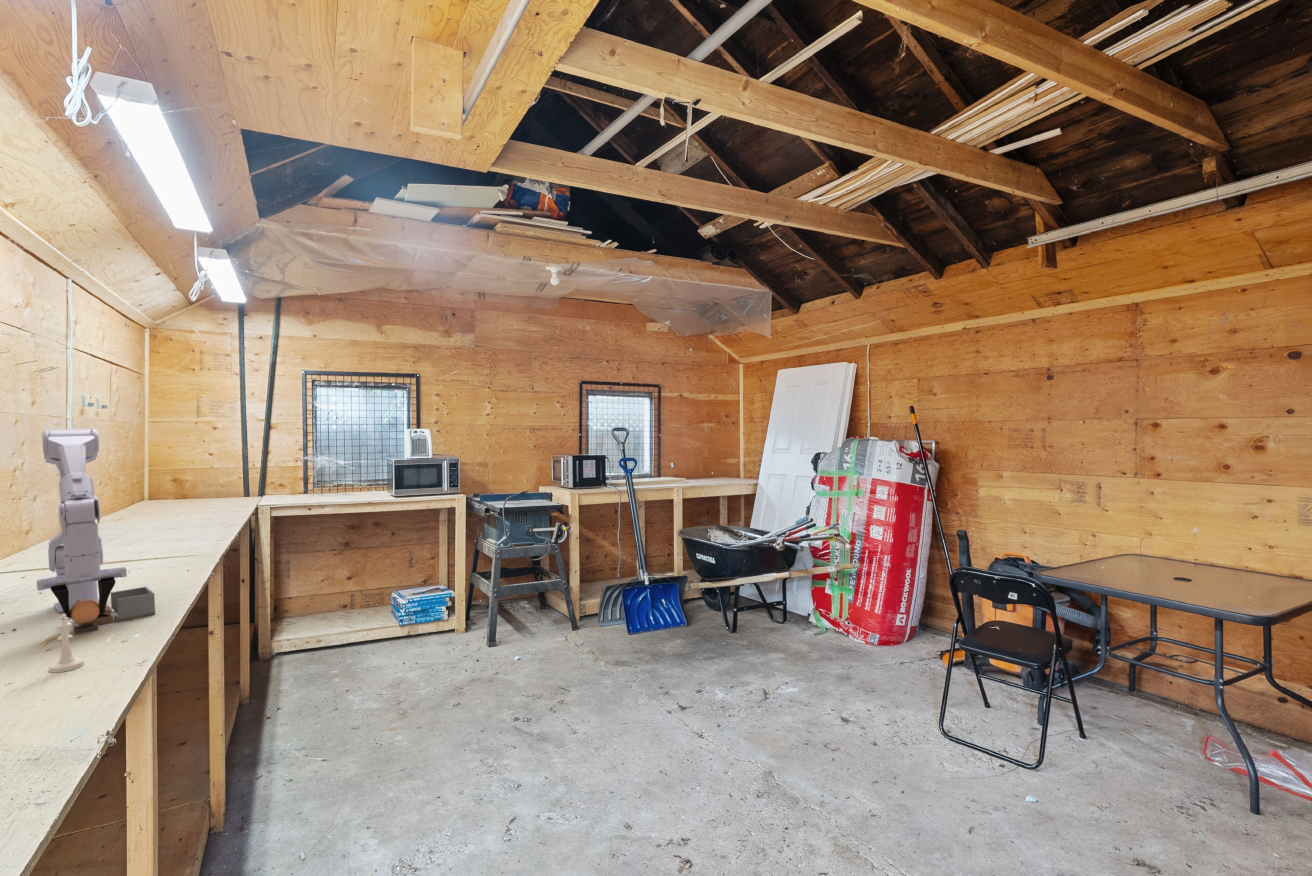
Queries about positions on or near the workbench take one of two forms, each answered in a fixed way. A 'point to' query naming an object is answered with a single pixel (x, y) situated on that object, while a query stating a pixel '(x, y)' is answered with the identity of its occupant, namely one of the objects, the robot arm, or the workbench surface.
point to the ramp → (102, 616)
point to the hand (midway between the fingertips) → (85, 615)
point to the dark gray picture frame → (85, 628)
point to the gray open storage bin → (132, 603)
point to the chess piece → (65, 650)
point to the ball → (84, 611)
